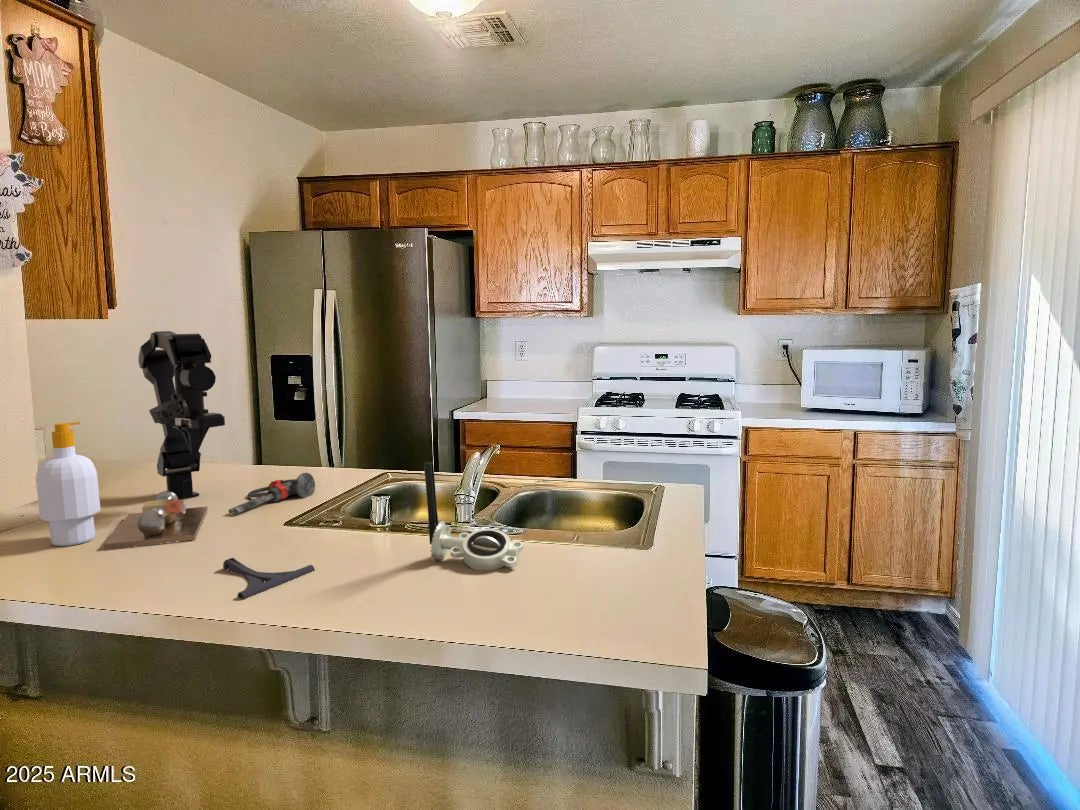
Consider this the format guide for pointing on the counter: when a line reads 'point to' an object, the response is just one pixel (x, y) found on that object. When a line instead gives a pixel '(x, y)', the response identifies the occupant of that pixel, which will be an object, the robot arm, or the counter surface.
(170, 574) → the counter surface
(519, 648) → the counter surface
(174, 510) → the lever
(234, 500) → the counter surface
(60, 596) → the counter surface
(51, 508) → the soap bottle
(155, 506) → the valve stand
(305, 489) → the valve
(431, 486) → the butterfly valve
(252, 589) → the dark grey squeegee
